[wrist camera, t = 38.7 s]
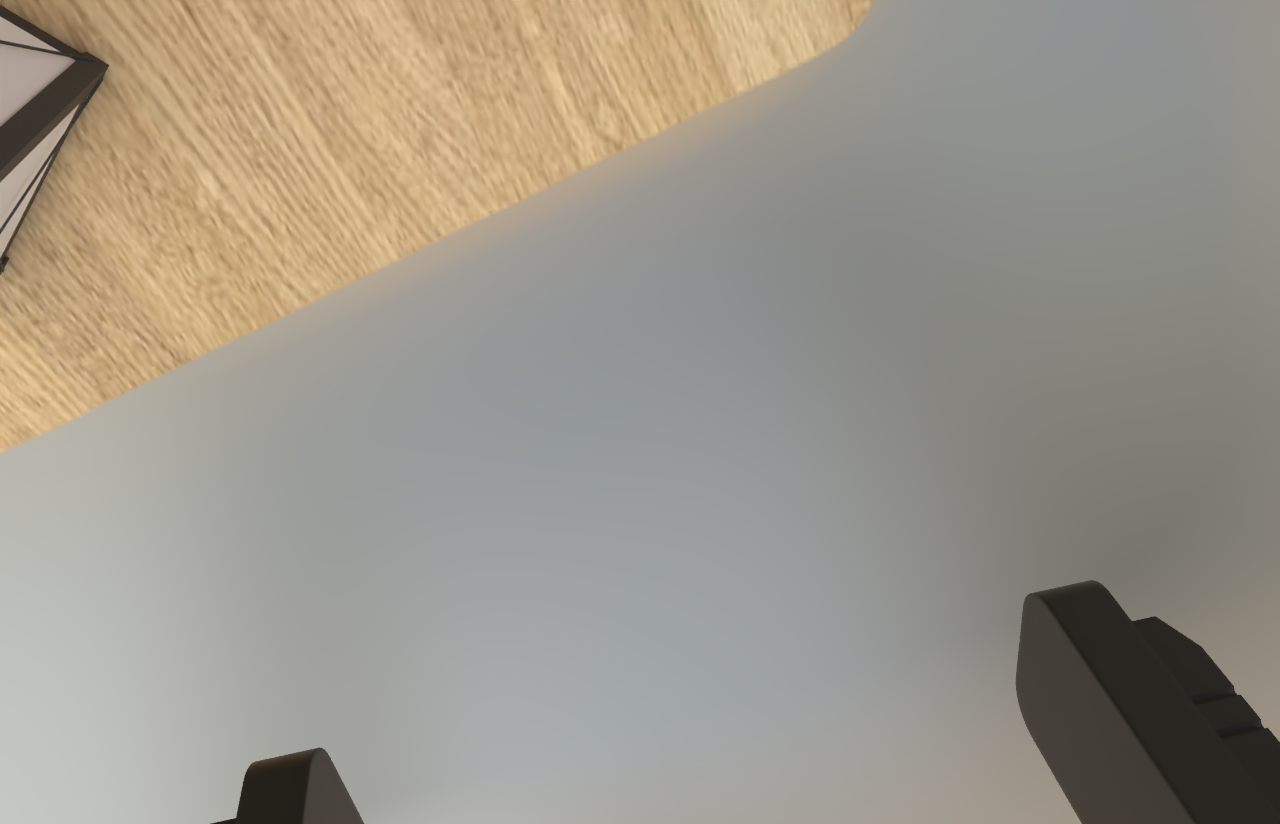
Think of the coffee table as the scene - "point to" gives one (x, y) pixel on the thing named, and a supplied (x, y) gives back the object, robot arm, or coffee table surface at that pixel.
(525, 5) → the coffee table surface
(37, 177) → the lantern
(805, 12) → the coffee table surface
